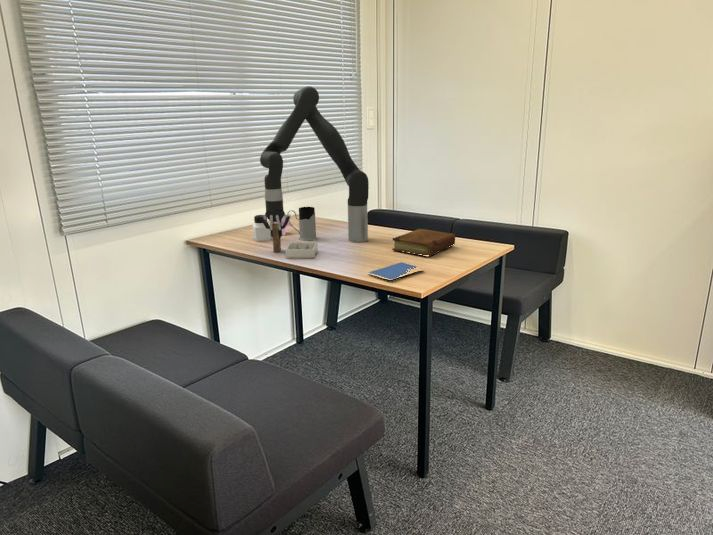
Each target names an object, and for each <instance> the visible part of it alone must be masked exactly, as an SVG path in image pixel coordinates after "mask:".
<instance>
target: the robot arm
mask: <svg viewBox="0 0 713 535" xmlns="http://www.w3.org/2000/svg"><path fill="white" fill-rule="evenodd" d="M292 99H293V104H294V108H293V110H292V111H291V113H290V115H289V116H288V117H287V118H286V120H285V121H284V122H283V124H281V126H280V127H279V129H278V131H277V132H276V134H275V136H274V138H273V139H272V141H271V142H270V143H269V144H268V145H267V146H266V147H265V149H263V151H262V152H261V154H260V157H259V162H260V164H261V166H262V167H263V168H265V169H268V174H266V175H265V176H264V178H263V179H264V200H265V213H264V214H262V215H263V216H261V217H260V219H261V221H262V222H263V224H264V226H265V227H266V229H270V234H271V239H273V230H272V225H273V224H274V222H277V225H278V232H279V238H280V239H281V238H282V236H283V234H282V229H284V228H285V227H286V225H287V223H288V222H289V221H290V219H291V216H290V215H287V214H286V212H285V210H284V198H283V196H284V195H283V188H282V174H283V168H284V160H283V156H282V155H281V153H283V152H286V151H287V150H288V149H289V147H290V146H291V144H292V141H293V140H294V138H295V136H296V135H297V133H298V131H299V129H300V128H301V126H302V125H303V123H304V122H305V121H306V122H307V124H308V125H309V126H310V128H311V130H312V131H313V132H314V134H315V136H316V138H317V139H318V140H319V143H320V144H321V145H322V147H323V148H324V151H325V152H326V154H328V156H329V157H330V159H331V160H332V161H333V163H335V165H336V166H337V168H338V169H339V171H340V172H341V175H342V176H343V179H344V180H345V183H346V185H347V187H348V198H347V223H348V224H347V232H348V233H347V234H348V238H347V239H348V241H349V242H350V241H351V243H365V242H364V241H367V242H369V241H368V240H369V236H368V234H369V230H368V229H369V228H368V227H369V226H368V225H369V224H368V223H369V220H368V200H369V188H370V186H369V185H370V184H369V183H370V182H369V177H368V175H367V174H366V173H365V172H364V171H362V170H361V169H359V167H358V166H357V165H356V164H355V162H354V160H353V159H352V157H351V155H350V153H349V150H348V148H347V145H346V143H345V141H344V138H343V137H342V136H341V134H340V133H339V131H338V129H337V128H336V127H335V126H334V125H333V124H332V123H331V122H330V121H328V120H327V119H326V118H325V117H324V116H323V115H322V113H320V111H319V110H318V108H317V105H318V104H319V100H320V95H319V91H318V90H317V89H316V88H315V87H314V86H305V87H302V88H300V89H298V90H297V91H296V92H294V94H293V97H292ZM266 217H267V221H266ZM283 217H285V218H284V219H285V222H284V224H283V226H282V224H281V220H282V218H283ZM268 221H269V222H270V223H269V222H268Z"/></svg>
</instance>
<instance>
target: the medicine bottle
mask: <svg viewBox="0 0 713 535" xmlns="http://www.w3.org/2000/svg"><path fill="white" fill-rule="evenodd" d="M263 215H264V214H256V215H255V216H253V222H254V223H253V224H252V236H253V240H254V241H255V242H257V241H258V242H267V241H271V240H272V237H271V231H270V229H266V227H265V226H264V224H263V222H262V221H261V219H260V217H261V216H263ZM266 221H267V222H268V218H267V217H266Z"/></svg>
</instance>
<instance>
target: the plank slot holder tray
mask: <svg viewBox="0 0 713 535" xmlns="http://www.w3.org/2000/svg"><path fill="white" fill-rule="evenodd" d="M318 250H319V248H318V241H294V242H293V241H290V242H289V244H288V245H287V246H286V248H285V250H284V251H285V259H286V258H291V260H292V259H295V260H298V259H299V260H300V259H305V260H306V259H307V260H309V259H311V260H312V259H315V257H316V256H317V253H318Z"/></svg>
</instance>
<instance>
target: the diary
mask: <svg viewBox="0 0 713 535" xmlns="http://www.w3.org/2000/svg"><path fill="white" fill-rule="evenodd" d="M392 241H394V248H392V250H397V251H404V252H410V253H415V254H422V255H429V257H431V256H433V255H432V254H434V253H436V252H438V251H440V252H442V251H441V250H443V249H445V248H447V247H449V246H451V245H453V244H454V245H455V244H456V235H455V233H452V232H451V233H450V232H443V231H436V230H431V229H430V230H429V229H424V228H418V229H416V230H413V231H410V232H406V233H404V234H401V235H398V236H395V237H392ZM454 245H453V246H454ZM451 247H452V246H451ZM449 248H450V247H449ZM447 249H448V248H447ZM392 250H391V251H392ZM445 250H446V249H445ZM397 251H396V252H397ZM443 251H444V250H443ZM438 253H439V252H438ZM436 254H437V253H436ZM430 255H431V256H430ZM434 255H435V254H434Z"/></svg>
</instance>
